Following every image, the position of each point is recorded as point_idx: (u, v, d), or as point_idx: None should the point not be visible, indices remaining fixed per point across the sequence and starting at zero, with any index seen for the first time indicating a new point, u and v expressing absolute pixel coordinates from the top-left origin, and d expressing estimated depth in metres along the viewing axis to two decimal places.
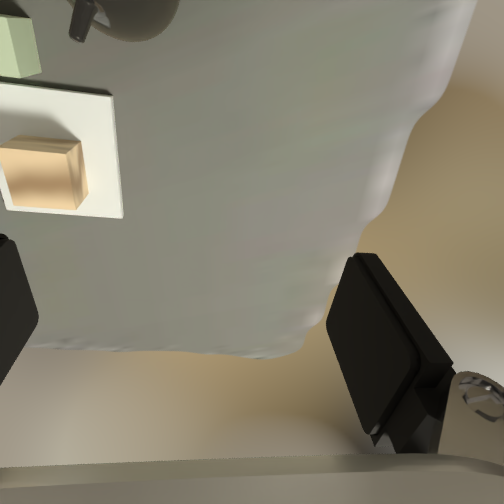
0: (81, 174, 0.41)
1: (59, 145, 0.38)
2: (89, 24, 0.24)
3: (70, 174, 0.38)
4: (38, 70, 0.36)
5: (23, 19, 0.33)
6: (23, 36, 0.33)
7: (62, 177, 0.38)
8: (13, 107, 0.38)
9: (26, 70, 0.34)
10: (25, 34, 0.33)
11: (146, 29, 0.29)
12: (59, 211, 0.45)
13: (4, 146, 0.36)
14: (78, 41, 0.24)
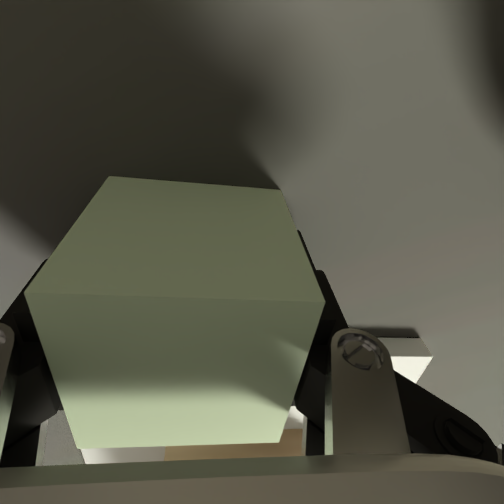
0: None
1: None
2: None
3: None
4: None
5: None
6: None
7: None
8: None
9: None
10: None
11: None
12: None
13: None
14: None
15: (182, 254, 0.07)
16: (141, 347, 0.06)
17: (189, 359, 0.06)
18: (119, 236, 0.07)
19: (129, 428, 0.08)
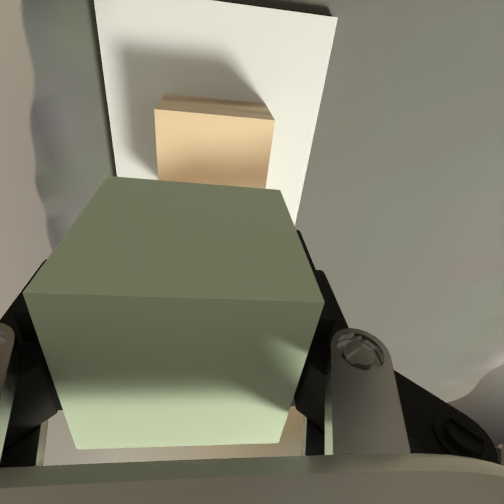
0: None
1: (245, 108, 0.21)
2: None
3: (269, 159, 0.21)
4: None
5: None
6: None
7: (255, 165, 0.21)
8: (166, 41, 0.21)
9: None
10: None
11: None
12: None
13: (164, 107, 0.19)
14: None
15: (180, 255, 0.07)
16: (141, 347, 0.06)
17: (188, 359, 0.06)
18: (119, 236, 0.07)
19: (128, 428, 0.08)
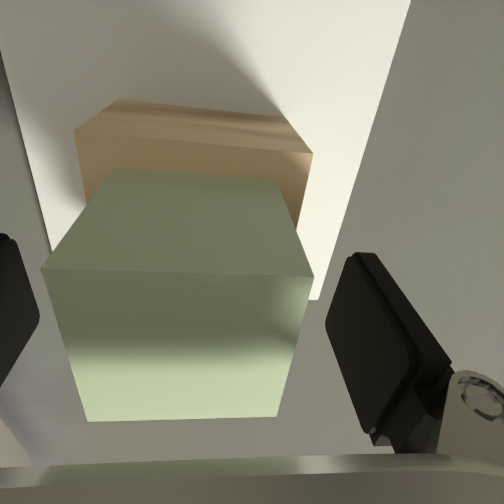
0: None
1: (254, 127, 0.12)
2: None
3: (296, 219, 0.12)
4: None
5: None
6: None
7: None
8: (112, 6, 0.12)
9: None
10: None
11: None
12: None
13: (99, 127, 0.10)
14: None
15: (182, 237, 0.07)
16: (147, 321, 0.07)
17: (190, 332, 0.07)
18: (125, 221, 0.07)
19: (136, 401, 0.08)
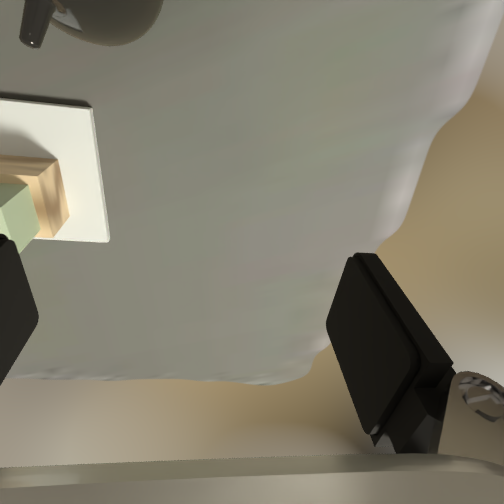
0: (59, 197, 0.36)
1: (31, 165, 0.33)
2: (45, 25, 0.19)
3: (44, 198, 0.33)
4: (36, 231, 0.34)
5: (19, 193, 0.31)
6: (19, 210, 0.31)
7: (34, 202, 0.33)
8: None
9: (23, 242, 0.32)
10: (21, 206, 0.31)
11: (122, 31, 0.24)
12: None
13: None
14: (32, 46, 0.19)
15: None
16: None
17: None
18: None
19: None
